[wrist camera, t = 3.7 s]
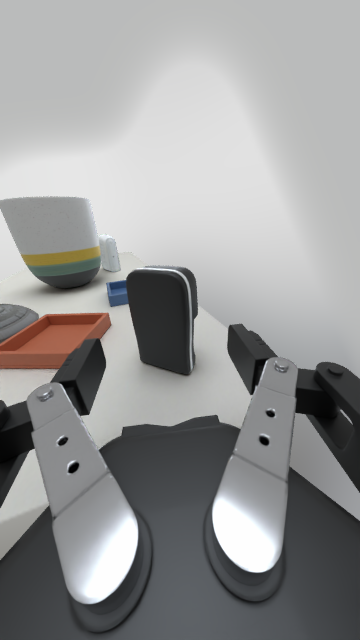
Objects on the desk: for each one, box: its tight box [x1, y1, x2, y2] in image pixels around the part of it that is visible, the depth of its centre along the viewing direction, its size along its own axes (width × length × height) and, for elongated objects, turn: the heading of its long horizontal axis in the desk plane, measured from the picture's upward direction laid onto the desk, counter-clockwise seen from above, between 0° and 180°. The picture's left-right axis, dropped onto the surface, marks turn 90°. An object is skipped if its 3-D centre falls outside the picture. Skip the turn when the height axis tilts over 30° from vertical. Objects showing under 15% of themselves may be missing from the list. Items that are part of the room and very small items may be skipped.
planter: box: [0, 197, 101, 288], centre depth 54 cm, size 20×20×21 cm
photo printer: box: [98, 234, 120, 272], centre depth 72 cm, size 10×4×12 cm, turn 40°
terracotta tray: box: [0, 313, 111, 369], centre depth 29 cm, size 11×11×2 cm
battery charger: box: [126, 266, 198, 374], centre depth 22 cm, size 7×4×11 cm, turn 64°
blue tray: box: [106, 280, 129, 307], centre depth 47 cm, size 11×11×2 cm
